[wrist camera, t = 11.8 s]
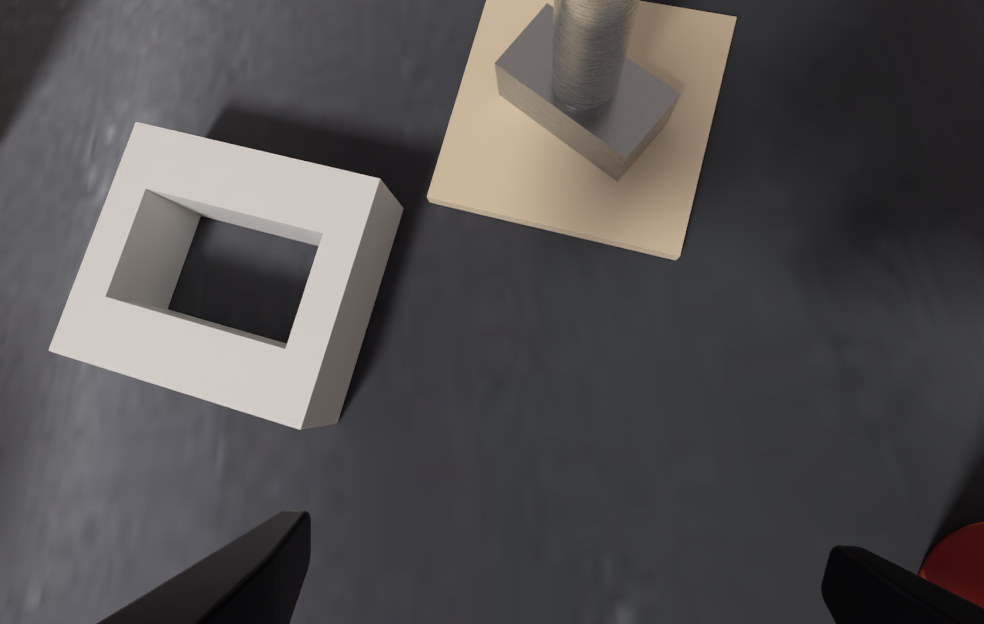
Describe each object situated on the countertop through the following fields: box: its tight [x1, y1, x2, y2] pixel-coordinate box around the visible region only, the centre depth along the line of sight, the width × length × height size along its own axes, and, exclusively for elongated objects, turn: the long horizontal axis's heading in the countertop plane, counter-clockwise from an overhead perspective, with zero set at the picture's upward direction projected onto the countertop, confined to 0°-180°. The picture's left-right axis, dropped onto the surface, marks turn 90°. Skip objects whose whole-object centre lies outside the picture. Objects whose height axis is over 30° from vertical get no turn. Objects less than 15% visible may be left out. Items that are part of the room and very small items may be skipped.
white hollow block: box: [48, 122, 404, 430], centre depth 19 cm, size 10×9×3 cm
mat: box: [427, 0, 737, 260], centre depth 20 cm, size 10×10×1 cm
